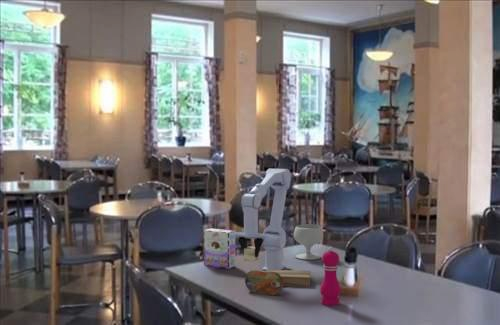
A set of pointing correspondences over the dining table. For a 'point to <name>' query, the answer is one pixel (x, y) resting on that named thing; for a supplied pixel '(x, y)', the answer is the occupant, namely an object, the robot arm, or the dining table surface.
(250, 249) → the birch cube
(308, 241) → the chalice
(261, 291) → the tin
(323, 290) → the pepper mill
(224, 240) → the candy box
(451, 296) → the dining table surface
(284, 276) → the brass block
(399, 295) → the dining table surface
